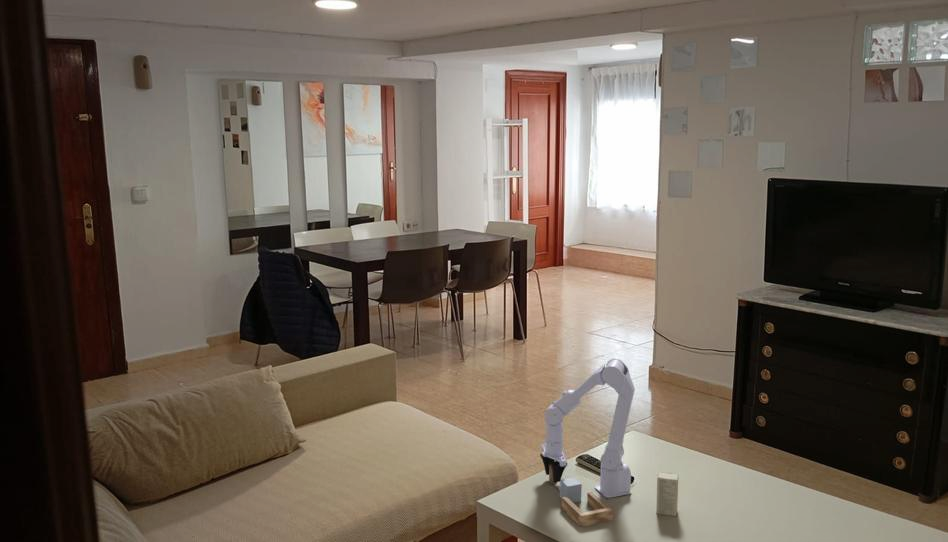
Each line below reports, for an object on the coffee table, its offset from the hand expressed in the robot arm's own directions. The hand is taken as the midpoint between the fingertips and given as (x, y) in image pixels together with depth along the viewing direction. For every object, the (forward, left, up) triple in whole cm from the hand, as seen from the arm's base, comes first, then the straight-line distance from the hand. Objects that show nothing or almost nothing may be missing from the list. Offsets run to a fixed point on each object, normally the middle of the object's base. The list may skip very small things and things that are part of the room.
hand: (553, 477), depth 257 cm
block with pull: (0, +7, -2) cm, 7 cm away
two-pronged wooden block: (0, +22, -2) cm, 22 cm away
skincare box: (-24, +31, -2) cm, 39 cm away
